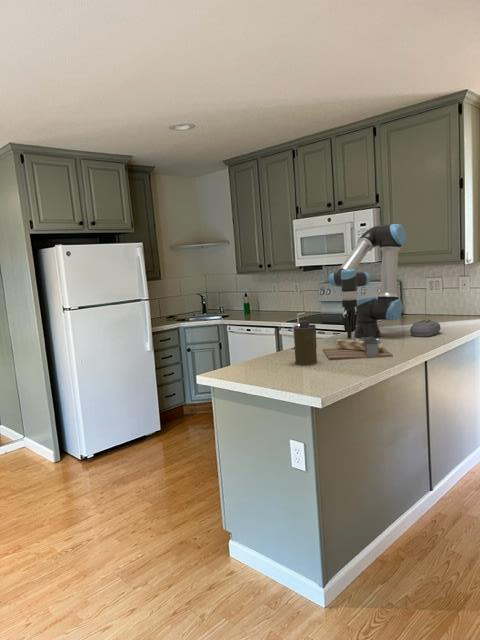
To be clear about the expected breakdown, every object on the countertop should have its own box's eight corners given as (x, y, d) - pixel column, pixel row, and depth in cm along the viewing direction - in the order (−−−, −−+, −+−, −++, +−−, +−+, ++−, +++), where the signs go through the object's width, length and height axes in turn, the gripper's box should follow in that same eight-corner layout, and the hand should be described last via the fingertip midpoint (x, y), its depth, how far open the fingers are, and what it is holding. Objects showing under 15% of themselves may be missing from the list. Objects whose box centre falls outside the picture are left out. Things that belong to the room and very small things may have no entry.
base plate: (322, 350, 253) (322, 348, 253) (380, 347, 252) (380, 345, 252) (329, 360, 229) (329, 358, 229) (392, 356, 228) (392, 354, 228)
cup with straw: (303, 345, 270) (301, 310, 268) (310, 348, 262) (308, 311, 259) (289, 347, 268) (287, 312, 265) (296, 350, 259) (294, 313, 257)
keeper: (361, 351, 240) (361, 337, 239) (372, 350, 240) (372, 336, 239) (366, 355, 229) (366, 341, 228) (378, 355, 229) (378, 340, 228)
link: (385, 350, 236) (384, 342, 236) (380, 352, 232) (380, 344, 232) (341, 346, 253) (340, 339, 252) (336, 348, 249) (335, 340, 248)
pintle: (374, 341, 237) (374, 338, 237) (379, 341, 237) (379, 338, 236) (375, 342, 234) (375, 339, 234) (381, 342, 234) (381, 339, 234)
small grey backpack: (418, 331, 292) (405, 336, 278) (418, 317, 291) (404, 322, 277) (444, 332, 282) (431, 338, 267) (444, 318, 281) (431, 323, 266)
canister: (303, 366, 220) (301, 323, 217) (290, 362, 229) (288, 321, 227) (322, 362, 225) (320, 320, 222) (309, 359, 234) (307, 318, 232)
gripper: (349, 298, 256) (350, 341, 259) (336, 300, 247) (338, 345, 250) (362, 298, 251) (363, 342, 254) (349, 300, 242) (350, 346, 245)
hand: (350, 344), depth 252 cm, fingers closed
